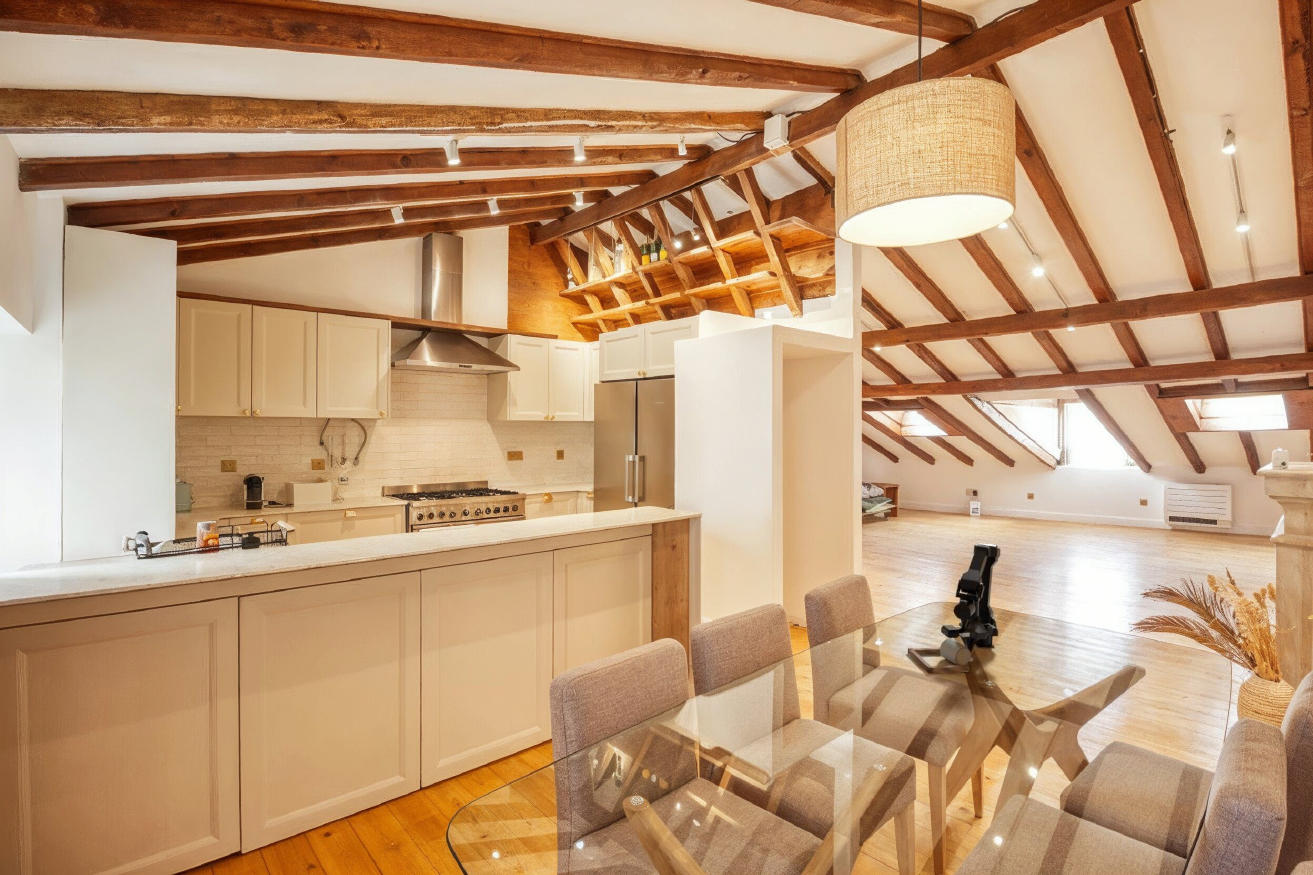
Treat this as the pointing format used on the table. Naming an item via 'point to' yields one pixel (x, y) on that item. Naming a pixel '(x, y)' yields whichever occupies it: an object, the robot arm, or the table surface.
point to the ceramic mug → (955, 652)
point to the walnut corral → (916, 656)
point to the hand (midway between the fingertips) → (969, 653)
